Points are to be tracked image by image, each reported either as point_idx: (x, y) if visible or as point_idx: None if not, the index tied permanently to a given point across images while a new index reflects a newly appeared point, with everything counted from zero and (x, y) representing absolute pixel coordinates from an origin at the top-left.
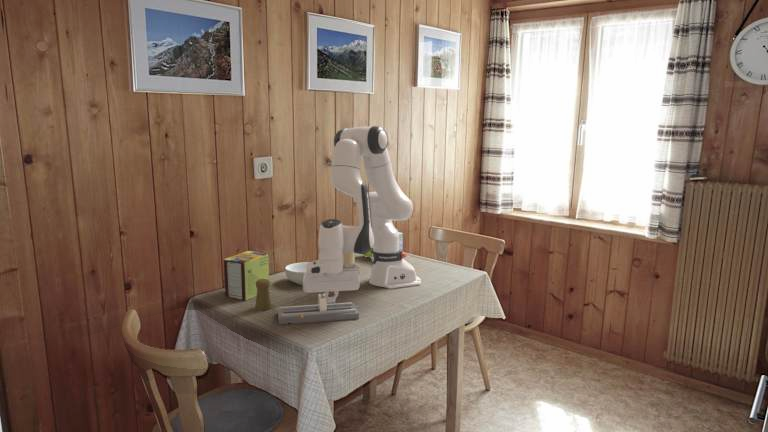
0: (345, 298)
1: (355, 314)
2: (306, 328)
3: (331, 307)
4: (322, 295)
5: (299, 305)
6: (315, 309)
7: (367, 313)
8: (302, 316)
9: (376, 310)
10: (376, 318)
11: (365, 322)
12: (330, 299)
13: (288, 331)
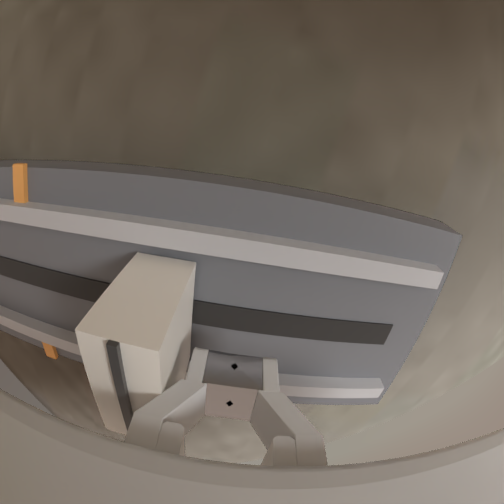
0: (450, 14)
1: (358, 400)
2: None
3: (256, 274)
4: (124, 400)
5: (16, 165)
6: (115, 272)
7: (446, 329)
8: (51, 355)
9: (496, 302)
10: (432, 386)
11: (367, 413)
12: (215, 411)
13: (38, 375)
